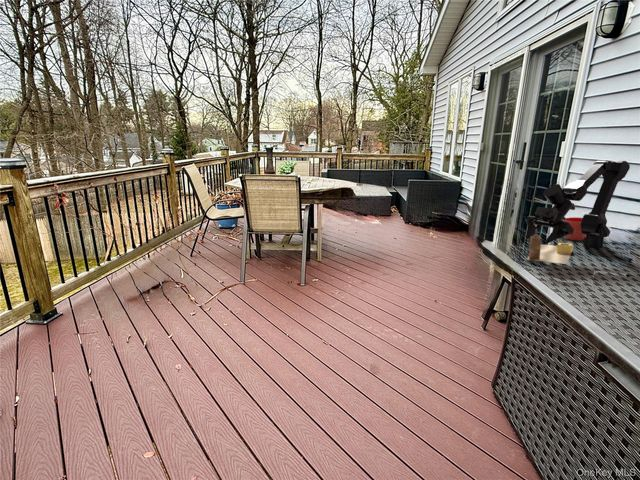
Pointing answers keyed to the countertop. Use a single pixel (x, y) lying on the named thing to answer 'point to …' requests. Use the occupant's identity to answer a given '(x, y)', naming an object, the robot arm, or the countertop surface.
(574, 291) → the countertop surface
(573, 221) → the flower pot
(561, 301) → the countertop surface
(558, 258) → the panel
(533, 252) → the awl
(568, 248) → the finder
